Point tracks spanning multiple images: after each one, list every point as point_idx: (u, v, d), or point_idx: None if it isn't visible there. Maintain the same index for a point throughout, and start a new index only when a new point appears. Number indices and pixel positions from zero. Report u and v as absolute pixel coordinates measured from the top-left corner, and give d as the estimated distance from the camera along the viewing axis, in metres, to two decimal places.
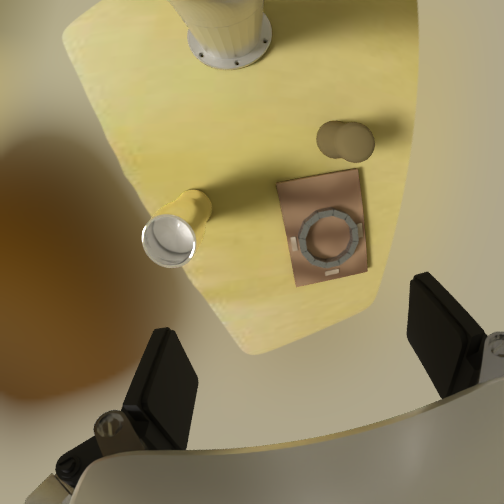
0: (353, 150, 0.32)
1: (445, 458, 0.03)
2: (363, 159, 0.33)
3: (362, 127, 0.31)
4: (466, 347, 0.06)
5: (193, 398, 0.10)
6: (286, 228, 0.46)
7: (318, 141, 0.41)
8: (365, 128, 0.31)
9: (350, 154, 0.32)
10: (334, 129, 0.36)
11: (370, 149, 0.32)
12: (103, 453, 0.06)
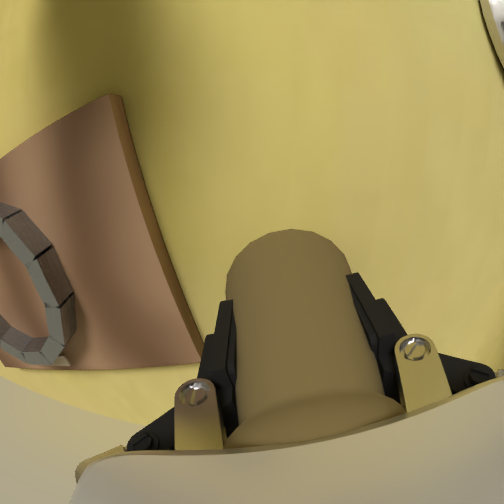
0: None
1: (445, 458, 0.03)
2: None
3: None
4: (377, 347, 0.08)
5: None
6: (0, 162, 0.10)
7: (283, 239, 0.12)
8: None
9: None
10: (361, 335, 0.08)
11: None
12: (176, 421, 0.07)
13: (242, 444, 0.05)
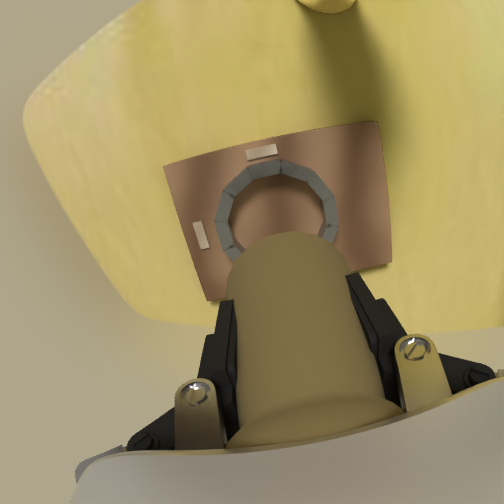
0: None
1: (445, 458, 0.03)
2: None
3: None
4: (377, 347, 0.08)
5: None
6: (293, 135, 0.22)
7: (284, 241, 0.12)
8: None
9: None
10: (362, 338, 0.08)
11: None
12: (176, 421, 0.07)
13: None
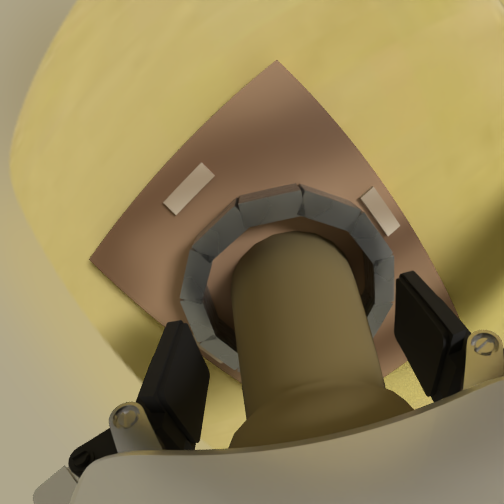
0: None
1: (445, 458, 0.03)
2: None
3: None
4: (448, 345, 0.07)
5: (205, 391, 0.11)
6: (417, 242, 0.13)
7: (287, 240, 0.12)
8: None
9: None
10: (363, 332, 0.08)
11: None
12: (116, 445, 0.06)
13: (252, 434, 0.05)
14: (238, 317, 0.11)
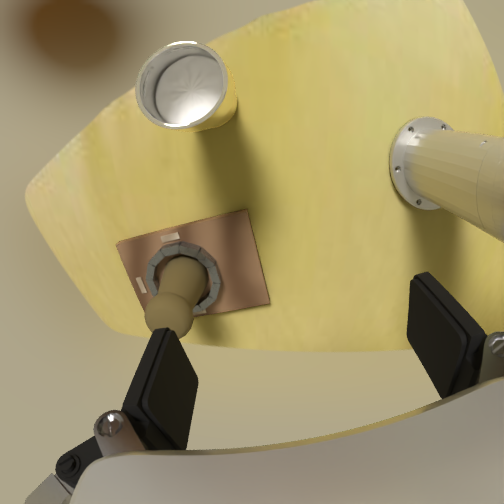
0: None
1: (445, 458, 0.03)
2: None
3: (176, 312, 0.28)
4: (466, 347, 0.06)
5: (193, 398, 0.10)
6: (189, 226, 0.35)
7: None
8: (180, 314, 0.28)
9: (152, 330, 0.28)
10: (167, 282, 0.32)
11: (177, 336, 0.29)
12: (103, 453, 0.06)
13: None
14: None
